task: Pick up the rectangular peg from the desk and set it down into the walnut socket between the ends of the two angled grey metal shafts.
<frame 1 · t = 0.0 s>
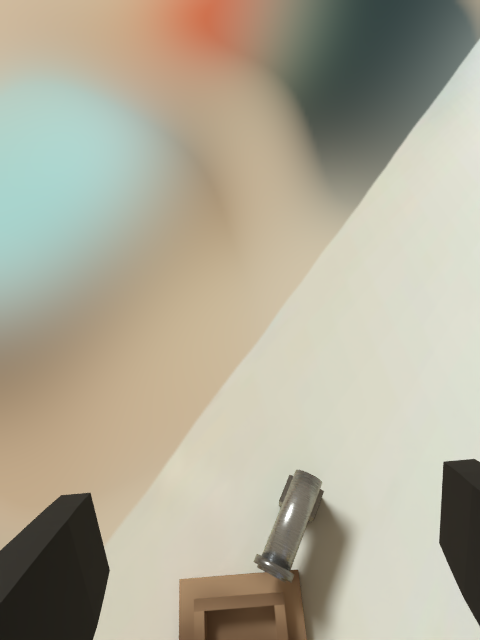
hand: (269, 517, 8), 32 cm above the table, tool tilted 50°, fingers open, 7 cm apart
shaft b: (289, 528, 37), on the table
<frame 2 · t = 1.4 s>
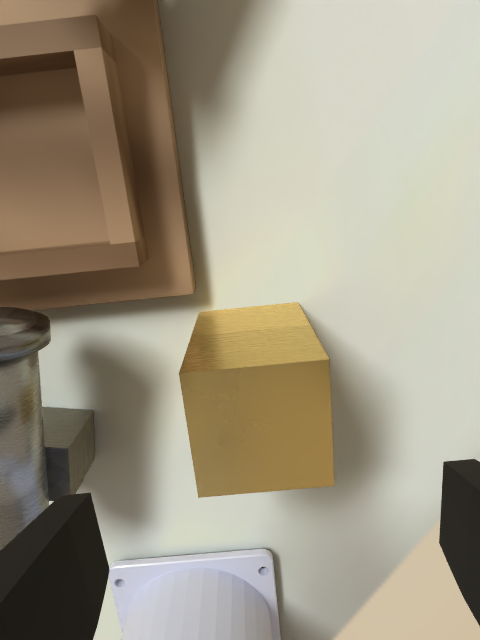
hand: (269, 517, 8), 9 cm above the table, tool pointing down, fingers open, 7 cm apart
socket: (41, 167, 15), on the table
shaft a: (54, 380, 18), on the table
rectangular peg: (252, 352, 17), on the table
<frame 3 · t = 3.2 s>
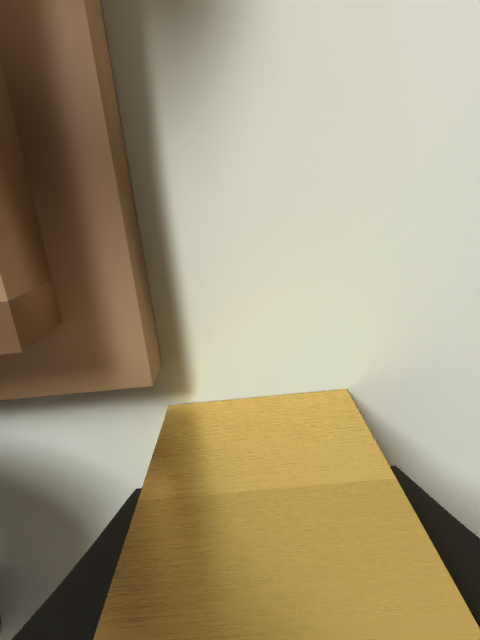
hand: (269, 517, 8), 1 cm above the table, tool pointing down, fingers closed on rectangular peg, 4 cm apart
rectangular peg: (264, 472, 10), on the table, touching gripper
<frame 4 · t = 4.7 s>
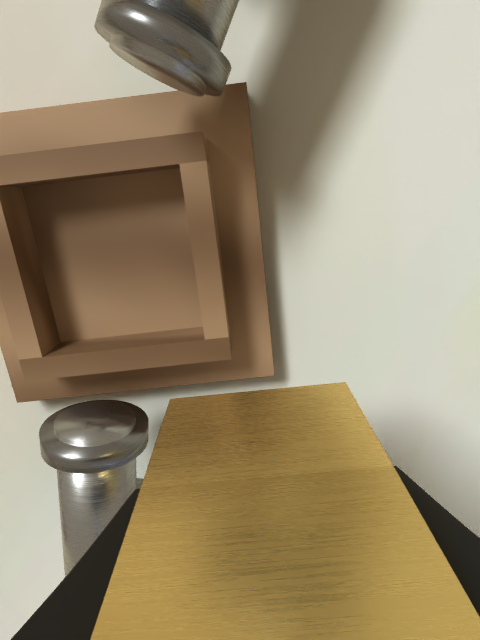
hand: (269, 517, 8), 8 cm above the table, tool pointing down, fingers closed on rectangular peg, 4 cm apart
socket: (126, 255, 15), on the table
shaft a: (129, 452, 18), on the table
rectangular peg: (264, 465, 10), point 7 cm above the table, touching gripper
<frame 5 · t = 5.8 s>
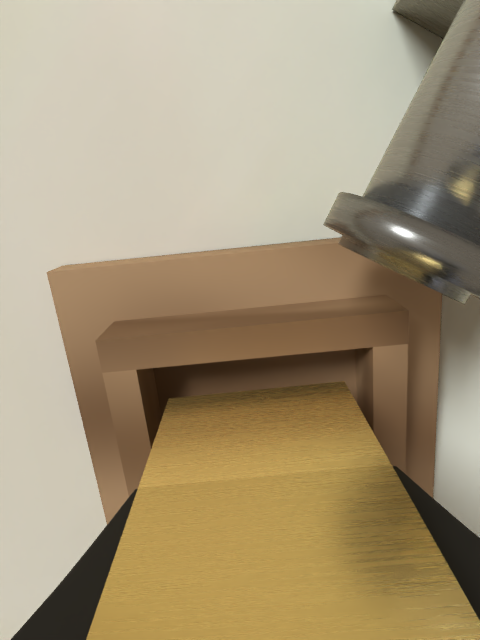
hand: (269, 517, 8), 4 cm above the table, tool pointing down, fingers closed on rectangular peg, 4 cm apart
socket: (258, 409, 13), on the table
shaft b: (421, 97, 10), on the table
rectangular peg: (263, 464, 10), point 3 cm above the table, touching gripper
when the fingers open (3 cm above the table, at t = 6.4 s): rectangular peg stays where it is, resting on socket.
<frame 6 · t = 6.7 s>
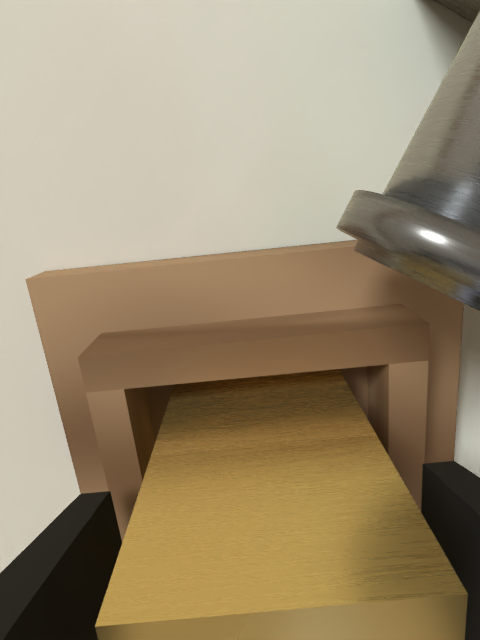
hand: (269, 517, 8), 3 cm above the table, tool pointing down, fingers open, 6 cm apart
socket: (260, 427, 12), on the table
shaft b: (441, 84, 9), on the table
rectangular peg: (263, 444, 11), point 1 cm above the table, touching socket
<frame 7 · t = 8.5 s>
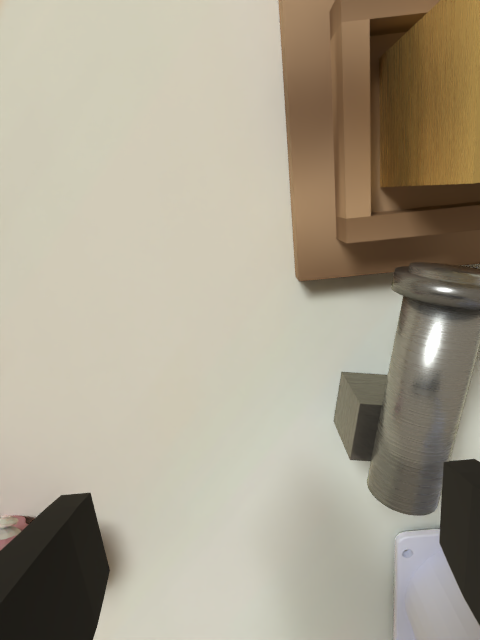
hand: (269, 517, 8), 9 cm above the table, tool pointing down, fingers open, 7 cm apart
socket: (425, 126, 15), on the table
shaft a: (383, 346, 17), on the table
rectangular peg: (439, 118, 14), point 1 cm above the table, touching socket
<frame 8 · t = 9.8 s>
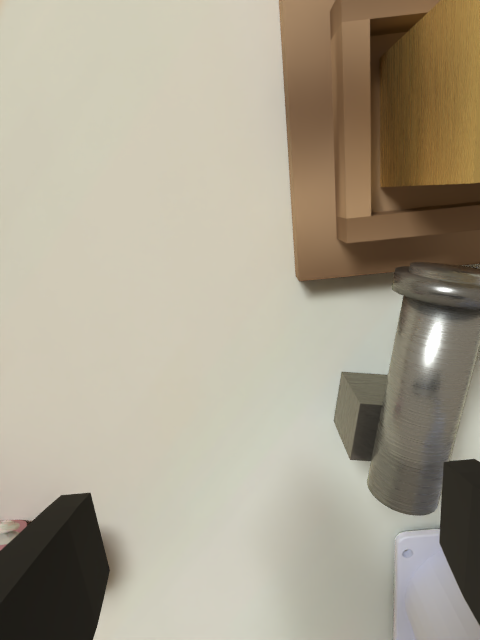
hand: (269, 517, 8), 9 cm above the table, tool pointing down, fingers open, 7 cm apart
socket: (425, 126, 15), on the table
shaft a: (383, 346, 17), on the table
rectangular peg: (439, 118, 14), point 1 cm above the table, touching socket
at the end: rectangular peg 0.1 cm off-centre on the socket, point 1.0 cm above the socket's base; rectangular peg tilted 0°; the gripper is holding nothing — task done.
